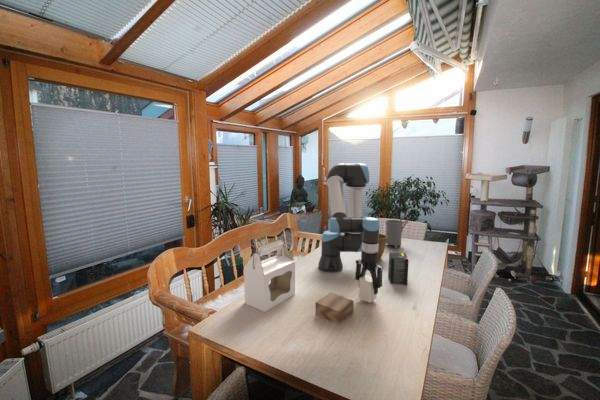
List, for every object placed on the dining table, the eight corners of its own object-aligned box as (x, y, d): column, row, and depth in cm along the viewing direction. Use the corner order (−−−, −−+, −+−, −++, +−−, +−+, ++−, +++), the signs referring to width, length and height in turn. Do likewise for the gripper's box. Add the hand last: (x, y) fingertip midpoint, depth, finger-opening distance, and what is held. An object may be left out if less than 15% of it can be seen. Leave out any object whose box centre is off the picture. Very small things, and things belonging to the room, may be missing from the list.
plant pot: (390, 259, 195) (392, 236, 193) (376, 263, 187) (377, 240, 184) (373, 253, 207) (374, 231, 205) (359, 257, 199) (360, 234, 196)
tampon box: (407, 285, 156) (409, 259, 153) (389, 283, 157) (391, 258, 155) (404, 277, 166) (406, 252, 164) (387, 275, 168) (389, 251, 166)
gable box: (264, 312, 127) (263, 251, 123) (244, 303, 135) (242, 245, 131) (295, 294, 145) (295, 240, 141) (276, 287, 153) (275, 235, 149)
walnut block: (315, 315, 126) (315, 302, 125) (330, 304, 135) (330, 292, 134) (339, 325, 119) (339, 311, 118) (353, 313, 128) (353, 300, 127)
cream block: (358, 297, 138) (359, 278, 136) (365, 293, 142) (366, 274, 141) (369, 302, 134) (370, 282, 132) (376, 298, 138) (377, 278, 136)
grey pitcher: (379, 246, 224) (381, 215, 220) (384, 241, 236) (386, 211, 232) (404, 250, 214) (406, 217, 210) (408, 245, 227) (410, 214, 223)
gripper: (348, 247, 138) (346, 292, 142) (383, 258, 125) (381, 307, 129) (357, 244, 143) (355, 287, 147) (392, 254, 130) (389, 301, 134)
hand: (367, 297), depth 138 cm, fingers closed on cream block, 6 cm apart
